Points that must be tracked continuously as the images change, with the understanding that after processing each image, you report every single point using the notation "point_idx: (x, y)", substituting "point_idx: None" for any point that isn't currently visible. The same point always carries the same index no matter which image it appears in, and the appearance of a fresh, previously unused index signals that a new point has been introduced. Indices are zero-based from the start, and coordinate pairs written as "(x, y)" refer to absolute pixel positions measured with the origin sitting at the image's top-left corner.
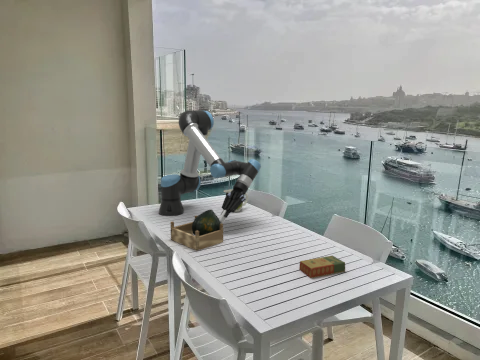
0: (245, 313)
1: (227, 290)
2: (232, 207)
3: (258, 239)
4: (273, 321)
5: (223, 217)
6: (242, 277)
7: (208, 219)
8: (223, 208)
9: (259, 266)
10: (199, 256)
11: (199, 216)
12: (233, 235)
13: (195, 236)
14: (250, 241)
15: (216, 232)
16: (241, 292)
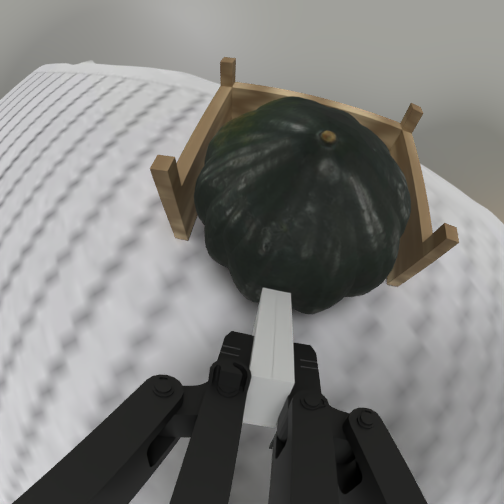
0: (55, 65)
1: (79, 71)
2: (137, 412)
3: (38, 358)
4: (28, 77)
5: (254, 333)
6: (57, 101)
7: (257, 110)
8: (325, 401)
9: (22, 150)
10: (190, 103)
11: (345, 112)
12: (176, 361)
13: (234, 78)
14: (58, 313)
15: (182, 154)
16: (58, 79)
